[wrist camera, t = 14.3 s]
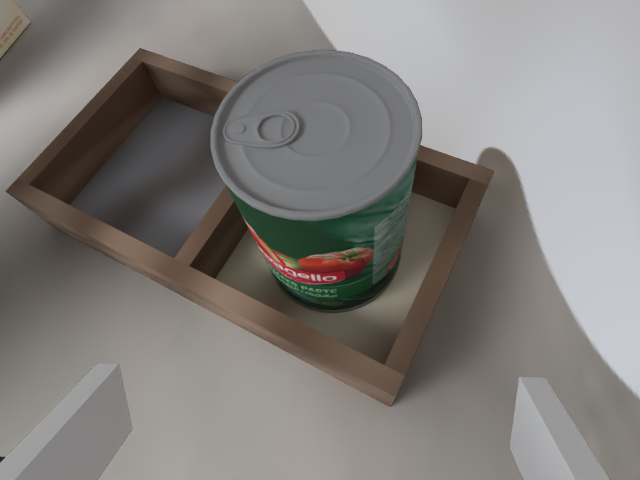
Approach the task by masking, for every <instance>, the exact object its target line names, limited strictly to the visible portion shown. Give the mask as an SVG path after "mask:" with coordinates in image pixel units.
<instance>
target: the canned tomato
mask: <svg viewBox="0 0 640 480" xmlns="http://www.w3.org/2000/svg"><path fill="white" fill-rule="evenodd" d="M421 139H422V117H421V114H420V110H419V107H418V103H417V101H416V99H415V97H414V96H413V94H412V92H411V90H410V88H409V87H408V86H407V85H406V84H405V83H404V82H403V81H402V80H401V79H400V77H399V76H397V75H396V74H395V73H394V72H392V71H391V70H390V69H388V68H387V67H385V66H384V65H382V64H380V63H378V62H376V61H373V60H371V59H370V58H367V57H364V56H360V55H357V54H354V53H349V52H342V51H335V50H312V51H306V52H299V53H294V54H290V55H287V56H283V57H280V58H277V59H275V60H273V61H270V62H268V63H266V64H264V65H261V66H260V67H258V68H257V69H255V70H254V71H252V72H251V73H249V74H247V75H246V76H245V77H244V78H243V79H241V80H240V81H239V82H238V83H237V84H236V85H235V86H234V87H233V88H232V89H231V90H230V92H229V93H228V94H227V95H226V97H225V98H224V99H223V101H222V102H221V104H220V106H219V108H218V110H217V112H216V114H215V116H214V120H213V124H212V128H211V152H212V156H213V160H214V164H215V167H216V169H217V171H218V172H219V174H220V176H221V178H222V180H223V181H224V183H225V184H226V185H227V187H228V190H229V192H230V194H231V196H232V197H233V199H234V202H235V203H236V205H237V207H238V209H239V211H240V213H241V215H242V217H243V219H244V221H245V223H246V224H247V226H248V228H249V230H250V232H251V234H252V236H253V238H254V240H255V242H256V244H257V246H258V248H259V250H260V252H261V253H262V255H263V257H264V259H265V261H266V263H267V265H268V267H269V269H270V271H271V274H272V276H273V278H274V280H275V281H276V283H277V285H278V286H279V287H280V289H281V290H282V291H283V292H284V293H285V294H286V295H287V296H288V297H289V298H291V299H292V300H293V301H295V302H296V303H298V304H300V305H302V306H304V307H306V308H308V309H311V310H315V311H319V312H327V313H339V312H347V311H351V310H354V309H357V308H360V307H363V306H365V305H367V304H368V303H370V302H372V301H374V300H375V299H376V298H377V297H379V296H380V295H381V294H382V293H383V292H384V291H385V290H386V289H387V287H388V286H389V285H390V284H391V282H392V281H393V279H394V277H395V275H396V272H397V270H398V268H399V263H400V259H401V249H402V244H403V238H404V232H405V226H406V220H407V216H408V209H409V202H410V198H411V191H412V184H413V180H414V173H415V168H416V161H417V155H418V152H419V147H420V143H421Z"/></svg>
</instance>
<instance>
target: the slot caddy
mask: <svg viewBox="0 0 640 480" xmlns="http://www.w3.org/2000/svg"><path fill="white" fill-rule="evenodd" d="M237 83H238V82H237V81H234V80H231V79H228V78H225V77H222V76H219V75H216V74H213V73H211V72H208V71H205V70H202V69H199V68H196V67H193V66H190V65H188V64H185V63H182V62H179V61H176V60H173V59H170V58H167V57H164V56H162V55H159V54H156V53H153V52H150V51H147V50H144V49H141V48H140V49H139V50H138V51H137V52H136V53H135V54H134V55H133V56H132V57H131V58H130V59H129V60H128V61H127V63H126V64H125V65H124V66H123V67H122V68H121V69H120V70H119V71H118V72H117V73H116V74H115V75H114V76H113V77H112V79H111V80H110V81H109V82H108V83H107V84H106V85H105V86H104V87H103V88H102V89H101V90H100V91H99V92H98V93H97V95H96V96H95V97H94V98H93V99H92V100H91V101H90V102H89V103H88V104H87V105H86V106H85V107H84V108H83V109H82V111H81V112H80V113H79V114H78V115H77V116H76V117H75V118H74V119H73V120H72V121H71V122H70V123H69V124H68V125H67V127H66V128H65V129H64V130H63V131H62V132H61V133H60V134H59V135H58V136H57V137H56V138H55V139H54V140H53V141H52V143H51V144H50V145H49V146H48V147H47V148H46V149H45V150H44V151H43V152H42V153H41V154H40V155H39V156H38V157H37V158H36V160H35V161H34V162H33V163H32V164H31V165H30V166H29V167H28V168H27V169H26V170H25V171H24V172H23V173H22V174H21V176H20V177H19V178H18V179H17V180H16V181H15V182H14V183H13V184H12V185H11V186H10V187H9V188H8V189H7V190H6V192H7V193H8V194H10V195H11V196H12V197H14V198H15V199H17V200H18V201H19V202H21V203H22V204H23V205H25V206H26V207H27V208H29V209H30V210H32V211H33V212H34V213H36V214H37V215H38V216H40V217H41V218H42V219H44V220H45V221H47V222H48V223H49V224H51V225H52V226H53V227H55V228H57V229H59V230H61V231H62V232H64V233H66V234H68V235H70V236H72V237H74V238H76V239H77V240H79V241H81V242H83V243H85V244H87V245H89V246H90V247H92V248H94V249H96V250H98V251H100V252H102V253H104V254H105V255H107V256H109V257H111V258H113V259H115V260H117V261H119V262H120V263H122V264H124V265H126V266H128V267H130V268H132V269H133V270H135V271H137V272H139V273H141V274H143V275H145V276H147V277H148V278H150V279H152V280H154V281H156V282H158V283H160V284H161V285H163V286H165V287H167V288H169V289H171V290H173V291H175V292H176V293H178V294H180V295H182V296H184V297H186V298H188V299H189V300H191V301H193V302H195V303H197V304H199V305H201V306H203V307H204V308H206V309H208V310H210V311H212V312H214V313H216V314H217V315H219V316H221V317H223V318H225V319H227V320H229V321H231V322H232V323H234V324H236V325H238V326H240V327H242V328H244V329H245V330H247V331H249V332H251V333H253V334H255V335H257V336H259V337H260V338H262V339H264V340H266V341H268V342H270V343H272V344H273V345H275V346H277V347H279V348H281V349H283V350H285V351H287V352H288V353H290V354H292V355H294V356H296V357H298V358H300V359H301V360H303V361H305V362H307V363H309V364H311V365H313V366H315V367H316V368H318V369H320V370H322V371H324V372H326V373H328V374H329V375H331V376H333V377H335V378H337V379H339V380H341V381H343V382H344V383H346V384H348V385H350V386H352V387H354V388H356V389H357V390H359V391H361V392H363V393H365V394H367V395H369V396H371V397H372V398H374V399H376V400H378V401H380V402H382V403H384V404H385V405H387V406H389V407H391V405H392V403H393V401H394V399H395V398H396V396H397V393H398V391H399V389H400V386H401V384H402V382H403V379H404V377H405V375H406V373H407V370H408V368H409V366H410V363H411V361H412V359H413V357H414V354H415V352H416V350H417V347H418V345H419V343H420V340H421V338H422V336H423V334H424V331H425V329H426V327H427V324H428V322H429V320H430V317H431V315H432V313H433V311H434V308H435V306H436V304H437V301H438V299H439V297H440V295H441V292H442V290H443V288H444V285H445V283H446V281H447V278H448V276H449V274H450V272H451V269H452V267H453V265H454V262H455V260H456V258H457V255H458V253H459V251H460V249H461V246H462V244H463V242H464V239H465V237H466V235H467V232H468V230H469V228H470V226H471V223H472V221H473V219H474V216H475V214H476V212H477V210H478V207H479V205H480V203H481V200H482V198H483V196H484V193H485V191H486V189H487V187H488V184H489V182H490V180H491V177H492V175H493V173H494V171H493V170H490V169H487V168H485V167H482V166H479V165H476V164H473V163H470V162H467V161H464V160H461V159H459V158H455V157H453V156H450V155H447V154H444V153H441V152H438V151H436V150H433V149H430V148H427V147H424V146H421V145H420V147H419V152H418V155H417V161H416V168H415V173H414V180H413V184H412V191H411V198H410V202H409V209H408V216H407V220H406V226H405V232H404V238H403V244H402V249H401V259H400V263H399V268H398V270H397V272H396V275H395V277H394V279H393V281H392V282H391V284H390V285H389V286H388V287H387V289H386V290H385V291H384V292H383V293H382V294H381V295H380V296H379V297H377V298H376V299H375V300H374V301H372V302H370V303H368V304H367V305H365V306H363V307H360V308H357V309H354V310H351V311H347V312H339V313H327V312H319V311H315V310H311V309H308V308H306V307H304V306H302V305H300V304H298V303H296V302H295V301H293V300H292V299H291V298H289V297H288V296H287V295H286V294H285V293H284V292H283V291H282V290H281V289H280V287H279V286H278V285H277V283H276V281H275V280H274V278H273V276H272V274H271V271H270V269H269V267H268V265H267V263H266V261H265V259H264V257H263V255H262V253H261V252H260V250H259V248H258V246H257V244H256V242H255V240H254V238H253V236H252V234H251V232H250V230H249V228H248V226H247V224H246V223H245V221H244V219H243V217H242V215H241V213H240V211H239V209H238V207H237V205H236V203H235V202H234V199H233V197H232V196H231V194H230V192H229V190H228V187H227V185H226V184H225V183H224V181H223V180H222V178H221V176H220V174H219V172H218V171H217V169H216V167H215V164H214V160H213V156H212V152H211V128H212V124H213V120H214V116H215V114H216V112H217V110H218V108H219V106H220V104H221V102H222V101H223V99H224V98H225V97H226V95H227V94H228V93H229V92H230V90H231V89H232V88H233V87H234V86H235V85H236V84H237Z"/></svg>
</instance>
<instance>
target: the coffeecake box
mask: <svg viewBox="0 0 640 480" xmlns="http://www.w3.org/2000/svg"><path fill="white" fill-rule="evenodd" d="M30 23H31V22H30V20H29V19H28V18H27V17H26V15H25V14H24V13H23V11H22V10H21V9H20V7H19V6H18V5H17V3H16V2H15V1H14V0H0V58H1V57H2V56H3V55H4V53H5V52H6V51H7V50H8V49H9V48H10V46H11V45H12V44H13V43H14V42H15V40H16V39H17V38H18V37H19V36H20V34H21V33H22V32H23V31H24V30H25V28H26V27H27V26H28V25H29V24H30Z"/></svg>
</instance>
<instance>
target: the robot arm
mask: <svg viewBox="0 0 640 480" xmlns="http://www.w3.org/2000/svg"><path fill="white" fill-rule="evenodd" d="M132 429H133V428H132V423H131V418H130V414H129V409H128V404H127V399H126V394H125V390H124V385H123V380H122V375H121V370H120V366H119V364H113V363H97V364H96V365H95V367H94V368H93V369H92V370H91V371H90V372H89V373H88V374H87V375H86V376H85V377H84V378H83V379H82V380H81V381H80V382H79V383H78V384H77V385H76V386H75V387H74V388H73V389H72V390H71V391H70V392H69V393H68V394H67V395H66V396H65V397H64V398H63V399H62V400H61V401H60V402H59V403H58V404H57V405H56V406H55V407H54V408H53V409H52V410H51V411H50V412H49V413H48V414H47V416H46V417H45V418H44V419H43V420H42V421H41V422H40V423H39V424H38V425H37V426H36V427H35V428H34V429H33V430H32V431H31V432H30V433H29V434H28V435H27V436H26V437H25V438H24V439H23V440H22V441H21V442H20V443H19V444H18V445H17V446H16V447H15V448H14V449H13V450H12V451H11V452H10V453H9V454H8V455H7V456H6V457H0V480H98V479H99V477H100V476H101V474H102V473H103V472H104V470H105V469H106V467H107V466H108V464H109V463H110V461H111V460H112V458H113V457H114V455H115V454H116V453H117V451H118V450H119V448H120V447H121V445H122V444H123V442H124V441H125V439H126V438H127V437H128V435H129V434H130V432H131V431H132ZM510 449H511V451H512V454H513V456H514V459H515V461H516V464H517V466H518V469H519V471H520V474H521V476H522V478H523V480H610V479H609V478H608V476H607V475H606V473H605V472H604V470H603V468H602V467H601V465H600V464H599V462H598V460H597V459H596V457H595V456H594V454H593V453H592V451H591V449H590V448H589V446H588V445H587V443H586V441H585V440H584V438H583V437H582V435H581V433H580V432H579V430H578V429H577V427H576V426H575V424H574V422H573V421H572V419H571V418H570V416H569V414H568V413H567V411H566V410H565V408H564V407H563V405H562V403H561V402H560V400H559V399H558V397H557V395H556V394H555V392H554V391H553V389H552V388H551V386H550V384H549V383H548V381H547V380H546V378H545V377H519V383H518V390H517V397H516V405H515V412H514V419H513V427H512V434H511V441H510Z"/></svg>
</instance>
